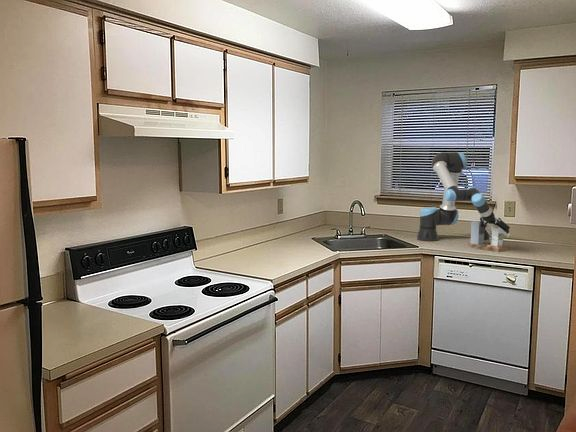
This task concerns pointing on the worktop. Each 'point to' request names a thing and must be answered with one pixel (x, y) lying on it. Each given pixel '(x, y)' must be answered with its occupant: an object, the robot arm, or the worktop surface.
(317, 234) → the worktop surface
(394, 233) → the worktop surface
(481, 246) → the rail
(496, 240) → the syrup box
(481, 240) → the blue-grey tall block
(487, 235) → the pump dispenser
